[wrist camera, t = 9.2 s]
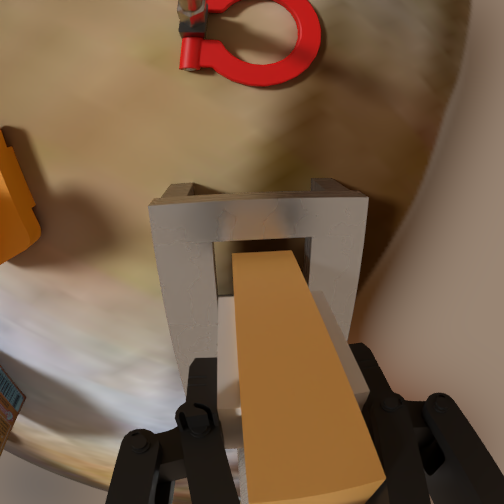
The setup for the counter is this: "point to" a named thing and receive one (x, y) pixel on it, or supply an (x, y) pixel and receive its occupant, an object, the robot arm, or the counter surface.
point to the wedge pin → (295, 393)
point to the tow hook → (224, 63)
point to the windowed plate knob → (251, 228)
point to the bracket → (15, 207)
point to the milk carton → (8, 406)
